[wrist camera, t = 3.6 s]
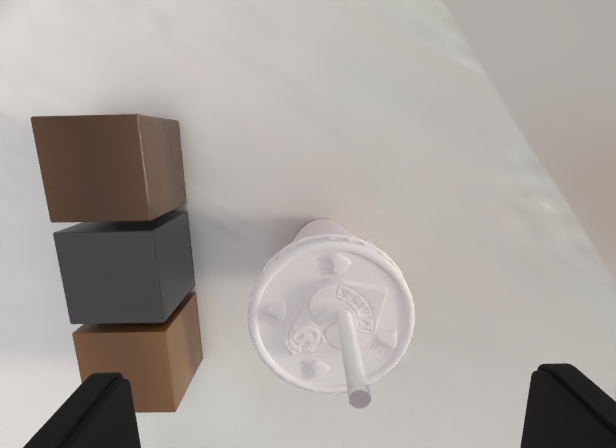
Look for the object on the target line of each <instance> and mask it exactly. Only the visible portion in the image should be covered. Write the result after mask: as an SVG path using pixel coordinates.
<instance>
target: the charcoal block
mask: <svg viewBox="0 0 616 448" xmlns="http://www.w3.org/2000/svg"><path fill="white" fill-rule="evenodd" d="M53 236H54V241H55V246H56V251H57V256H58V261H59V266H60V272H61V277H62V282H63V287H64V292H65V297H66V302H67V307H68V313H69V318H70V323H71V324H107V323H164V322H165V321H166V320H167V318H168V317H169V316H170V315H171V314H172V312H173V311H174V310H175V309H176V307H177V306H178V305H179V304H180V303H181V301H182V300H183V299H184V298H185V296H186V295H187V294H188V293H189V292H190V290H191V289H192V288H193V287H194V285H195V281H194V272H193V262H192V252H191V242H190V232H189V223H188V213H187V212H167V213H165V214H163V215H161V216H159V217H157V218H155V219H153V220H151V221H108V222H83V223H80V224H77V225H75V226H72V227H69V228H66V229H63V230H60V231H57V232H55V233H53Z"/></svg>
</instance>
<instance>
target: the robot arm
mask: <svg viewBox="0 0 616 448" xmlns="http://www.w3.org/2000/svg"><path fill="white" fill-rule="evenodd" d="M23 448H141V445H140V439H139V433H138V427H137V421H136V415H135V409H134V403H133V397H132V391H131V385H130V381H129V380H128V379H124V378H123V375H122V374H121V373H119V372H106V373H93V374H91V375H90V376H89V377H88V378H87V379H86V380H85V381H84V382H83V383H82V384H81V385H80V386H79V387H78V388H77V390H76V391H75V392H74V393H73V394H72V395H71V396H70V397H69V398H68V399H67V400H66V401H65V403H64V404H63V405H62V406H61V407H60V408H59V409H58V410H57V411H56V412H55V413H54V415H53V416H52V417H51V418H50V419H49V420H48V421H47V422H46V423H45V424H44V425H43V426H42V428H41V429H40V430H39V431H38V432H37V433H36V434H35V435H34V436H33V437H32V438H31V440H30V441H29V442H28V443H27V444H26V445H25V446H24V447H23ZM521 448H616V402H615V401H614V400H613V399H612V398H611V397H610V396H608V395H607V394H606V393H605V392H604V391H603V390H601V389H600V388H599V387H598V386H597V385H596V384H594V383H593V382H592V381H591V380H590V379H589V378H587V377H586V376H585V375H584V374H583V373H581V372H580V371H579V370H578V369H577V368H576V367H574V366H573V365H571V364H567V363H565V364H542V365H540V366H539V367H538V370H537V371H534V372H533V373H532V376H531V382H530V388H529V395H528V402H527V408H526V415H525V421H524V428H523V435H522V441H521Z"/></svg>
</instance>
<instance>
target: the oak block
mask: <svg viewBox="0 0 616 448" xmlns="http://www.w3.org/2000/svg"><path fill="white" fill-rule="evenodd" d="M72 335H73V340H74V345H75V350H76V355H77V360H78V366H79V371H80V376H81V381H82V383H83V382H84V381H85V380H86V379H87V378H88V377H89V376H90V375H91V374H93V373H106V372H119V373H121V374H122V375H123V378H124V379H128V380H129V381H130V385H131V391H132V397H133V403H134V409H135V412H176V410H177V408H178V406H179V404H180V402H181V400H182V398H183V396H184V394H185V392H186V390H187V388H188V386H189V384H190V382H191V380H192V378H193V376H194V374H195V372H196V370H197V368H198V366H199V364H200V363H201V361H202V348H201V339H200V329H199V319H198V309H197V299H196V293H188V294H187V295H186V296H185V298H184V299H183V300H182V301H181V303H180V304H179V305H178V306H177V307H176V309H175V310H174V311H173V312H172V314H171V315H170V316H169V317H168V318H167V320H166V321H165V322H164V323H107V324H83V325H82V326H81V327H80V328H78V329H77V330H76V331H75V332H73V334H72Z"/></svg>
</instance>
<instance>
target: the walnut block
mask: <svg viewBox="0 0 616 448" xmlns="http://www.w3.org/2000/svg"><path fill="white" fill-rule="evenodd" d="M31 123H32V128H33V133H34V138H35V143H36V148H37V154H38V159H39V164H40V169H41V174H42V179H43V184H44V190H45V195H46V200H47V205H48V210H49V215H50V220H51V222H53V223H54V222H108V221H151V220H153V219H155V218H157V217H159V216H161V215H163V214H165V213H167V212H169V211H172V210H174V209H176V208H178V207H180V206H182V205H184V204H186V193H185V183H184V173H183V163H182V154H181V144H180V134H179V124H178V121H176V120H170V119H164V118H157V117H151V116H145V115H139V114H122V115H79V116H36V117H31Z"/></svg>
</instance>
